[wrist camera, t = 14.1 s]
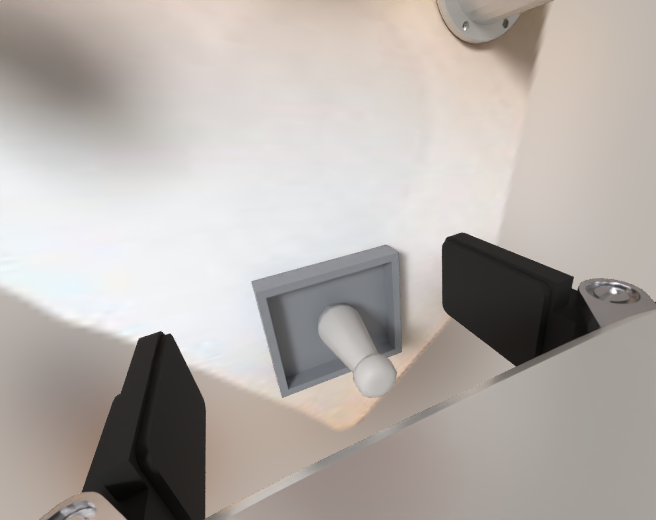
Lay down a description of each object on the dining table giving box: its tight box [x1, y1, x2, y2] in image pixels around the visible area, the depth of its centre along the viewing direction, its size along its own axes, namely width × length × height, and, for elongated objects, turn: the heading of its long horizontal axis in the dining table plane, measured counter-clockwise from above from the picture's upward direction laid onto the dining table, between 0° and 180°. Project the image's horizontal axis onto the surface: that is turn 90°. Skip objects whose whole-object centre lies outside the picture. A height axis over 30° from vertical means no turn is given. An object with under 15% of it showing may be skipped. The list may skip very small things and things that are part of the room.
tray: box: [252, 245, 402, 398], centre depth 41 cm, size 18×16×3 cm
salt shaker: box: [318, 303, 397, 398], centre depth 36 cm, size 6×6×13 cm
